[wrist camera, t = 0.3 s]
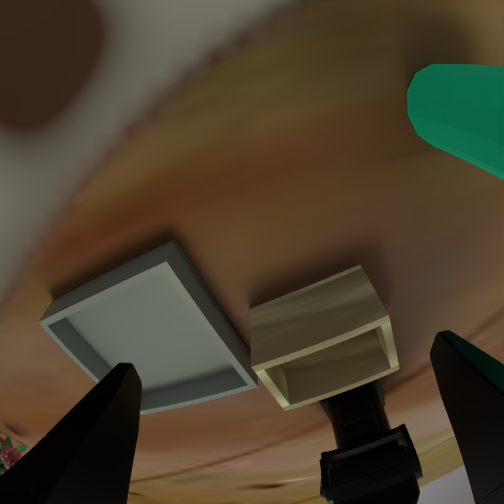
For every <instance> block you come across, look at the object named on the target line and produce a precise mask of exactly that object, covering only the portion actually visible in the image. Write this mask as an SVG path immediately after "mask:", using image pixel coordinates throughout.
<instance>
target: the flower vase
mask: <svg viewBox="0 0 504 504" xmlns="http://www.w3.org/2000/svg"><path fill="white" fill-rule="evenodd" d="M26 448H27V446H25V445H18V446H16V448H13V446H12V443H11V440H10V439H9V437H8V436H7V438H6V448H5V447H3V450H1V453H2V454H0V475H1V474H2V473H4V472H5V471H6V470H7V469H9V468H10V467H11V466H12V465H14V464H15V463H16V462H17V461H18V460H20V459H21V452H23V451H25V450H26ZM0 449H1V443H0Z"/></svg>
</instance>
